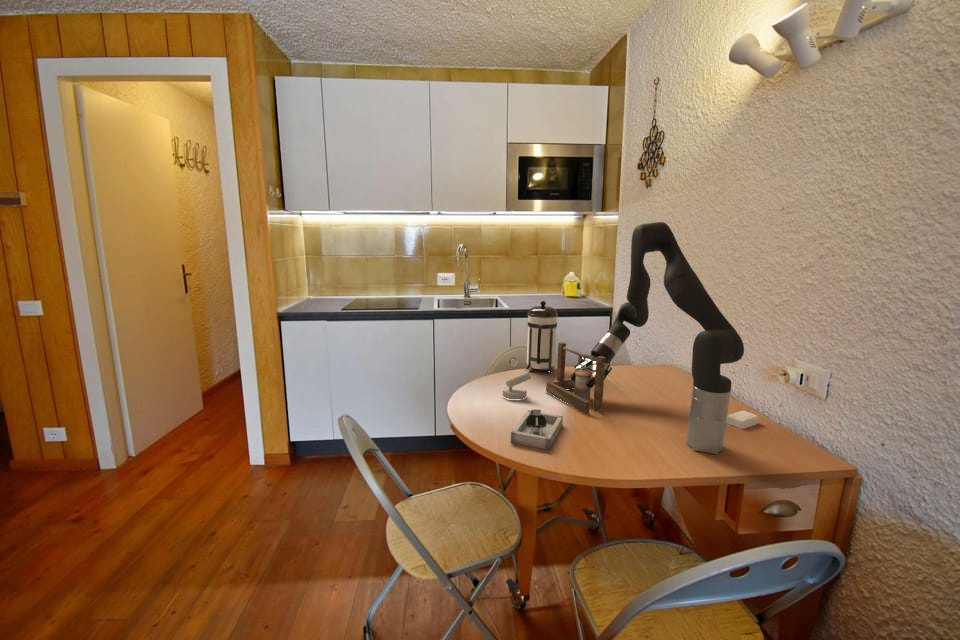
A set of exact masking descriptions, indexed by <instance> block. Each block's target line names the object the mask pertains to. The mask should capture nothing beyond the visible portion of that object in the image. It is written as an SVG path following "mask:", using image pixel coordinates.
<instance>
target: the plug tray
mask: <svg viewBox="0 0 960 640" xmlns="http://www.w3.org/2000/svg"><path fill="white" fill-rule="evenodd" d="M531 411H532V410H527V411H526V413H525V414H524V415H523V416H522V418H520V419H519V422H518V423H517V424H516V425H515V427H514V428H513V429H512V431H510V443H514V444H519V445H523V446H529V447H532V448H533V447H534V448H539V449H543V450H544V449H545V450H550V448H551V447H552V445H553V444H554V441H555V439H556V438H557V436H558V434H559V432H560V430H561V429H562V427H563V420H564V419H563V417H564V416H563V415H558V414H553V413H546V412H542V411H541V412H540V413H541V415H542V416H544V417H545V419H546V427H545V428H542V436H540V435H539V428H533V434H531V428H529V427H528V426H526V421H527V418H528V416H531V415H532V413H531Z"/></svg>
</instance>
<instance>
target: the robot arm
mask: <svg viewBox="0 0 960 640" xmlns="http://www.w3.org/2000/svg"><path fill="white" fill-rule="evenodd" d="M653 252H654V253H655V252H660V253H661V254H662V255H663V258H664V260H665V263H666V264H665V265H666V266H665V270H664V275H663V286H664V289H665V290H666V292H667V294H668V295H669V298H670V299H671V301H672V302H673V303H674V304H675V306H677V308H678V309H680V310H681V311H682V312H684V313H685V314H686V315H688V316H689V317H691V318H692V319H694V320H695V322H697V323H698V324H699V325H700V326H701V328H702V329H703V331H700V332H699V333H698V334H697V335H696V336H695V337H694V341H693V345H692V353H691V354H692V357H691V359H692V360H691V375H692V381H693V382H692V383H693V384H692V389H691V390H692V391H691V399H690V406H689V414H688V415H689V416H688V424H687V425H688V426H687V432H686V433H687V435H686V444H687V445H688V446H689V448H692V450H693V451H697V452H702V453H707V454H713V455H719V454H720V453H721V452H723V450H724V443H725V435H726V428H727V423H726V422H727V416H728V415H729V413H728V412H729V407H730V406H729V405H730V399H731V394H732V393H731V390H732V381H731V379H730V378H729V377H727V376H726V375H722V374H721V366H722V365H724V364H731V363H733V364H734V363H737V362H738V361H740V360H741V359H742V358H743V356H744V354H745V346H744V341H743V340H742V337H741V335H740V334H739V333H738V331H737V330H736V328H735V327H734V326H732V324H731V323H730V321H728V319H727V318H726V317H725V316H724V315H723V313H722V311H721V310H720V309H719V308H718V307H717V305H716V303H715V302H714V300H713V298H711V296H710V294H709V293H708V292H707V290H706V288H705V286H704V284H703V283H702V282H701V280H700V278H699V277H698V276H699V275H697V274H696V272H695V270H694V269H693V268H692V267H691V265H690V263H689V262H688V260H687V258H686V256H685V255H684V253H683V251H682V249H681V247H680V245H679V243H678V241H677V239H676V237H675V235H674V233H673V231H672V229H671V228H670V226H669V224H667V223H665V222H664V221H663V222H662V221H657V222H656V221H655V222H649V223H642V224H638V225H637V226H635V228H634V229H633V231H632V235H631V245H630V277H629V283H628V286H627V288H628V289H627V293H626V300H627V301H628V302H623V304H621V306H619V309H618V311H617V314H616V317H615V319H614V321H613V323H612V325H611V326H610V327H609V328H608V330H607V331H606V333H605V334H604V335H603V336H602V337H601V338H600V339H599V341H598V342H596V344H595V345H594V347H593V348H592V349H591V351H590V355H591V356H593V357H596V358H597V357H599V356H603V357H605V358H606V360H605V373H604V380H605V379H606V378H607V377H608V376H609V374H610V372H611V371H612V369H613V367H612V366H611V365H610V363H611V361H612V360H613V359H614V358H615V357H616V355H617V354H618V353H619V351H620V349H622V346H623V344H624V343H625V342H626V341H627V339H628V338H629V337H630V335H631V330H630V328H628V326H627V325H625V324H624V322H626V323H628V324H630V325H631V326H633V327H637V328H641V327H643V326H645V325H646V324H647V322H648V319H649V301H648V297H649V294H650V293H649V292H650V288H651V277H650V275H649V272H648V270H647V269H646V265H645V264H644V259H645V255H646V254H648V253H653ZM573 368H574V369H575V370H574V371H573V373H572V374H571V376H570V378H571V379H572V380H573V381H575V379H576V375H575V371H577V370H588V371H591V372H592V376H591V379H590V380H589V381H588V383H587V384H586V386H587V387H588V388H590V390H591V389H592V388H593V387H595V374H596V362H595V361H592V360H589V359H587V358H584V357H582V362H579V361H578V360H577V361H575V363H574V364H573Z"/></svg>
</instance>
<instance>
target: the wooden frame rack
mask: <svg viewBox="0 0 960 640" xmlns="http://www.w3.org/2000/svg"><path fill="white" fill-rule="evenodd" d="M557 343H558V345H557V347H558V348H557V365H556V380H551V381H546V382H545V384H546V385H545V387H546V388H545V392H546V391H547V392H548V393H550V394H552V395H554V396H555V397H557V398H559V399H561V400H562V401H564V402H566V403H568V404H569V405H568V404H567V405H568V406H570V405H571V406H570V407H572V406H573V407H574V409H575V408H576V409H575V410H577V409H578V410H577V411H579V412H581V413H582V412H583V413H582V414H584V413H585V415H588V414H587V413H589V414H590V406H591V402H590V401H587V400H585V399H583V398H581V397H579V396H577V395H575V393H574V392H571V390H566V389H572V388H575V381H573V380H572V379H571V377H567V378H565V372H566V357H567V356H566V355H567V354H566V353H567V352H569V353H572V354H574V355H577V356H578V358H577V361H579V362H582V357H584V358H587V359H589V360H592V361H595V362H596V374H595V384H594V389H593V390H594V393H593V403H592V404H593V407H592V410H593V409H594V410H595V411H594V410H593V411H594V412H596V411H599V412H601V410H603V399H604V398H603V397H604V385H605V383H604V382H605V379H604V373H605V360H606V358H605V357H603V356H599V357H597V358H596V357H593V356H591V354H587V353H586V352H585V353H584V352H582V351H579V350H577V349H573V348H571V347H569V346H567V342H563V341H561V342H557ZM572 390H573V389H572ZM548 393H547V394H548ZM550 394H549V395H550ZM552 395H551V396H552ZM555 397H554V398H555ZM557 398H556V399H557ZM559 399H558V400H559ZM561 400H560V401H561ZM562 401H561V402H562ZM564 402H563V403H564ZM566 403H565V404H566ZM573 407H572V408H573Z"/></svg>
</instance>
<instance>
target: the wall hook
mask: <svg viewBox="0 0 960 640" xmlns="http://www.w3.org/2000/svg"><path fill="white" fill-rule="evenodd" d="M529 380H532V377H531V376H530V372H528V371H526V370H525V371H524V372H522V373H519V374H517V375H514V376H512V377H510V378H508V379H507V380H506V381H505V384H506V386H505V387H503V389H502V397H503V396H504V397H506V398H509V399H523V398H525V397H526V396H527V394H528V393H527V392H528V391H527V388H525V387H523V386H522V385H521V386H520V385H519V384H521V383H524V382H527V381H529ZM504 397H503V398H504ZM526 398H527V397H526Z"/></svg>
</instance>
